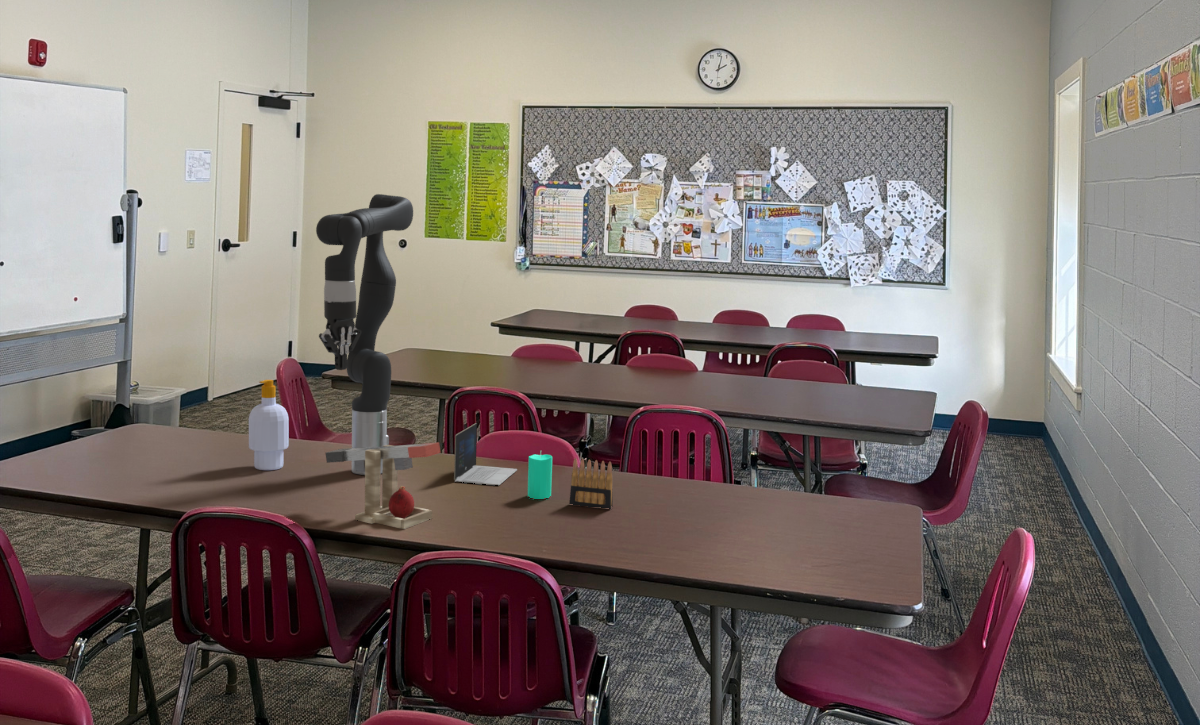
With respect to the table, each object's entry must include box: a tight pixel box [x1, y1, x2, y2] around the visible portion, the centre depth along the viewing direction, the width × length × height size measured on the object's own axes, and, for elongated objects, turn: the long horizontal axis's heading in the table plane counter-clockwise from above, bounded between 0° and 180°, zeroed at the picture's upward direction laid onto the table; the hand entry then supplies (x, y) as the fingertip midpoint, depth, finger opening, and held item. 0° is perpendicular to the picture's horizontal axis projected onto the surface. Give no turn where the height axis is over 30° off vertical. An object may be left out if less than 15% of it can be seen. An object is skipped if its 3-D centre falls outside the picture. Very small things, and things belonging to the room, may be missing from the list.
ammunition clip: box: [568, 457, 614, 510], centre depth 248 cm, size 11×2×12 cm, turn 75°
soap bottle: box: [248, 379, 290, 471], centre depth 273 cm, size 10×10×24 cm
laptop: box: [453, 422, 518, 486], centre depth 273 cm, size 18×12×13 cm
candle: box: [527, 450, 553, 500], centre depth 255 cm, size 6×6×12 cm
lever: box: [325, 441, 441, 472], centre depth 232 cm, size 30×5×5 cm, turn 61°
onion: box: [389, 485, 415, 519], centre depth 231 cm, size 6×6×8 cm
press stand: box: [354, 444, 433, 530], centre depth 231 cm, size 14×12×16 cm
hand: (341, 369), depth 246 cm, fingers closed
